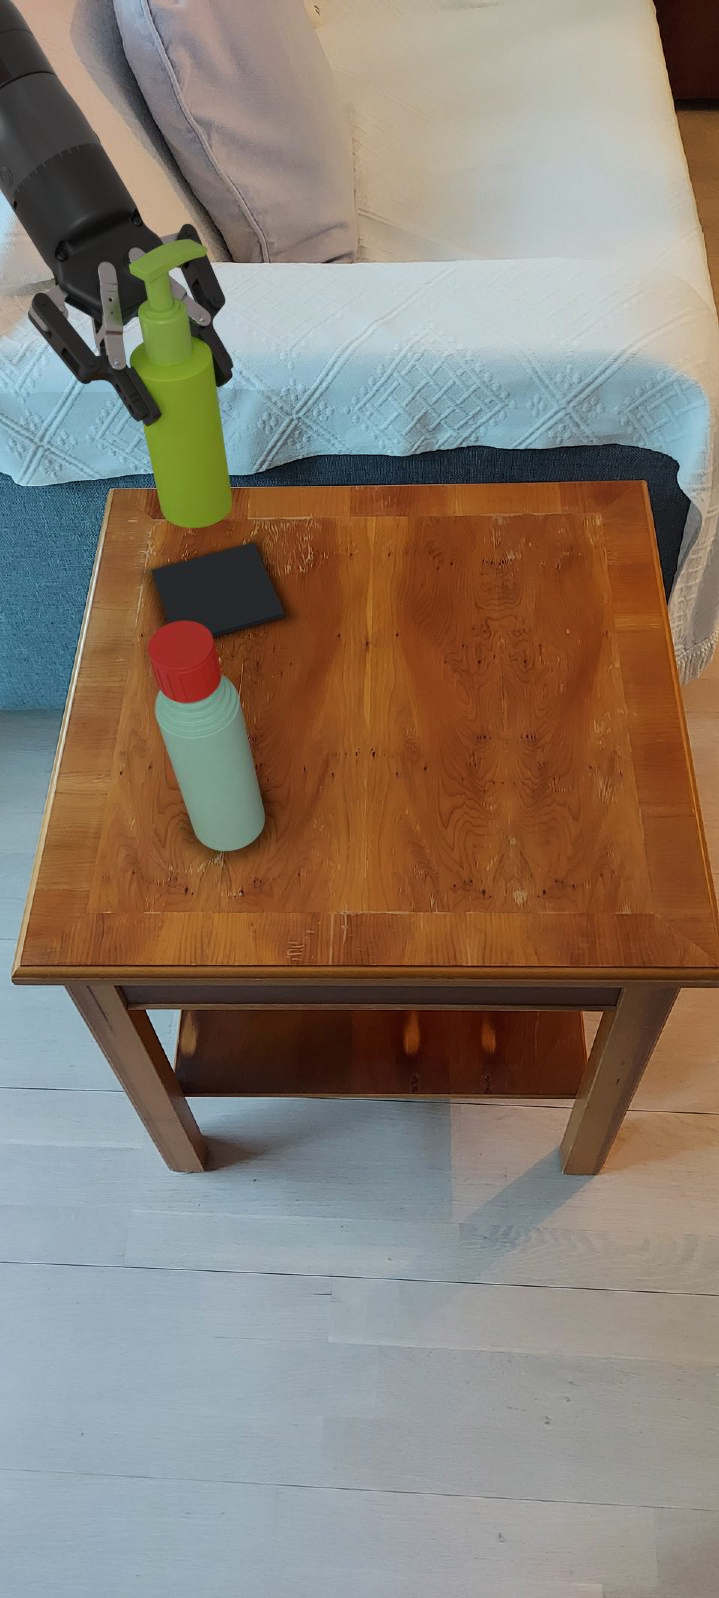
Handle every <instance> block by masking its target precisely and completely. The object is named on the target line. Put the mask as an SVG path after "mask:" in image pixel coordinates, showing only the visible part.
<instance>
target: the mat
mask: <svg viewBox="0 0 719 1598" xmlns="http://www.w3.org/2000/svg"><path fill="white" fill-rule="evenodd" d="M150 571H151V575H152V578H153V582H154V584H155V587H156V591H157V593H158V595H159V598H160V599H159V600H160V602H161V604H162V607H163V610H164V612H165V616H166V619H167V622H168V624H170V623H173V622H177V621H193V622H197V623H199V624H202V625H203V626H205V627H206V628H207V629H208V630H209V631H210V632H211V634H212V637H213V638H217V637H219V636H223V635H227V634H230V633H234V632H237V631H241V630H244V629H248V628H252V627H255V626H258V625H262V624H266V623H269V622H272V621H276V620H279V619H280V620H281V619H283V618H285V617H286V612H285V610H284V608H283V605H282V603H281V601H280V598H279V596H278V594H277V591H276V590H275V587H274V585H273V582H272V581H271V578H270V576H269V574H268V571H267V570H266V567H265V564H264V562H263V559H262V558H261V555H260V553H259V551H258V548H257V546H256V544H255V542H250V543H246V544H241V545H238V546H234V547H231V548H227V549H224V550H219V551H217V552H216V551H215V552H213V553H208V554H205V555H201V556H198V557H194V558H190V559H187V560H182V561H178V562H176V563H171V564H168V565H164V566H161V567H157V568H153V569H151V570H150Z"/></svg>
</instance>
